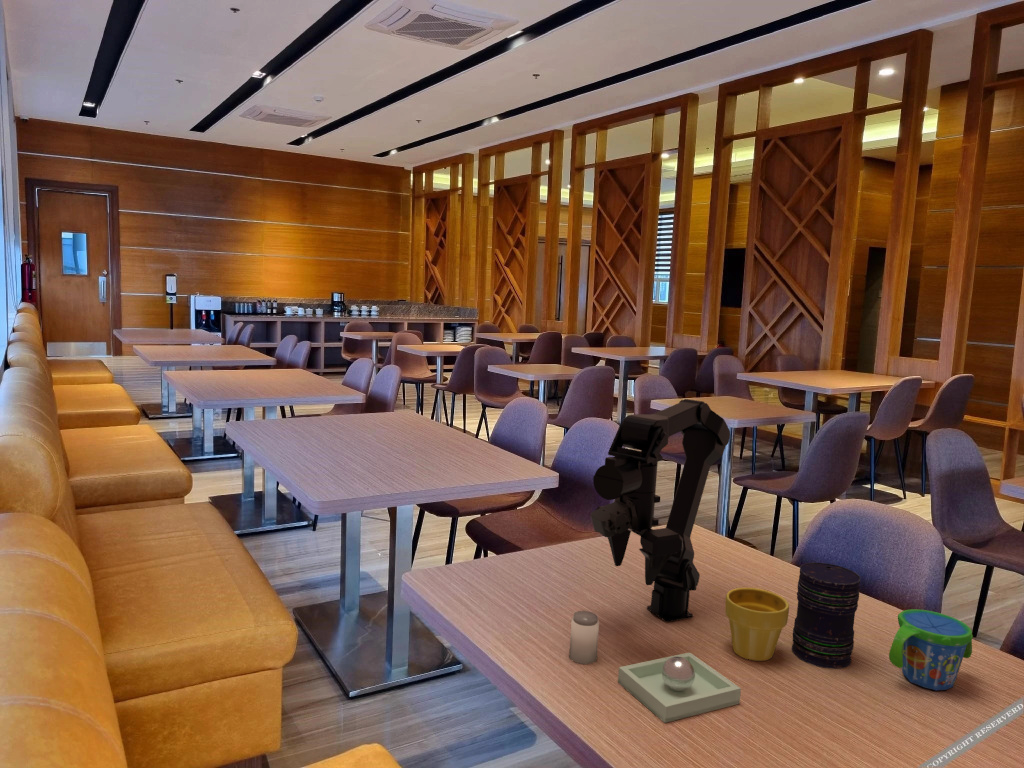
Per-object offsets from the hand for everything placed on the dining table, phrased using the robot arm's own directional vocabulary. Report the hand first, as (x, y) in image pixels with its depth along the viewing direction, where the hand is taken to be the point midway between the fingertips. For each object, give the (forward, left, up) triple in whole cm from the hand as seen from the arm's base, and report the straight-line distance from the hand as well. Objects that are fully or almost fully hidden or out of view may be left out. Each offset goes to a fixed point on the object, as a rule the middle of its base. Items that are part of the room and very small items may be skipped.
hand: (632, 575), depth 132 cm
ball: (+3, +18, -11) cm, 21 cm away
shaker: (+11, +3, -12) cm, 16 cm away
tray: (+3, +18, -12) cm, 22 cm away
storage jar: (-29, +17, -12) cm, 36 cm away
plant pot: (-18, +12, -12) cm, 25 cm away
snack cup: (-39, +30, -12) cm, 51 cm away
